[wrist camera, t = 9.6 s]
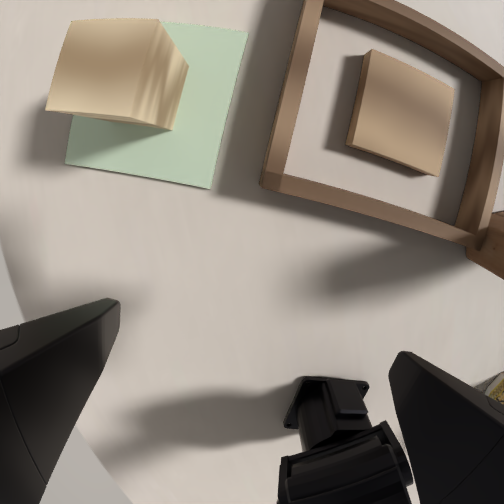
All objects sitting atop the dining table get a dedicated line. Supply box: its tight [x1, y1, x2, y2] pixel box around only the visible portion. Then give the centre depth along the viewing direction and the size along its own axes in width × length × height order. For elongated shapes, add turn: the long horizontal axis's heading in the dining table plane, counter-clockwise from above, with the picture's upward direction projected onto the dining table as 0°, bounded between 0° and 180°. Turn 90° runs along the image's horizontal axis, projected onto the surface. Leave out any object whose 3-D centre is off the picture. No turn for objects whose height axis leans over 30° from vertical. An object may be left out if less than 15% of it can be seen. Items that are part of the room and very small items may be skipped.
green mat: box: [65, 22, 249, 189], centre depth 18 cm, size 11×11×1 cm
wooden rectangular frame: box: [259, 0, 504, 251], centre depth 18 cm, size 15×17×3 cm
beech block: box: [45, 18, 189, 130], centre depth 14 cm, size 4×4×8 cm
